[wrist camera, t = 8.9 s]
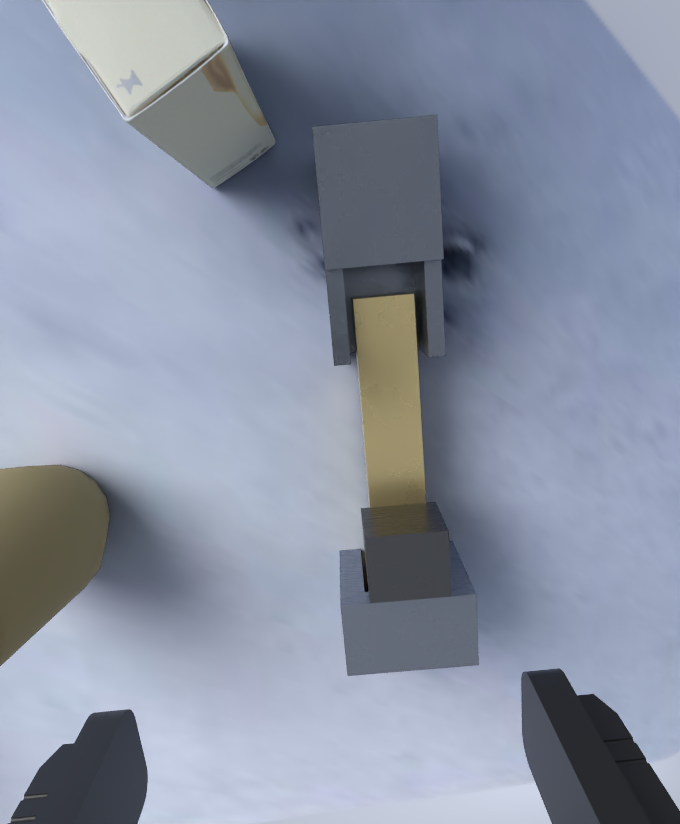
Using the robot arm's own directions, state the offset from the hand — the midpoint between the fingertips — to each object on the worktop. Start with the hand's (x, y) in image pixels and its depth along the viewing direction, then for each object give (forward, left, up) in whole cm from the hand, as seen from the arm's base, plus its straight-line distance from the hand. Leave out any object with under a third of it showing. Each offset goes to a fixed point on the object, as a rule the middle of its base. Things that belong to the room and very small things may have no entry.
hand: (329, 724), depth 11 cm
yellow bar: (+1, +3, -22) cm, 22 cm away
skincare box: (-18, -5, -22) cm, 29 cm away
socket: (+10, +3, -22) cm, 24 cm away
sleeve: (-10, +3, -22) cm, 24 cm away
